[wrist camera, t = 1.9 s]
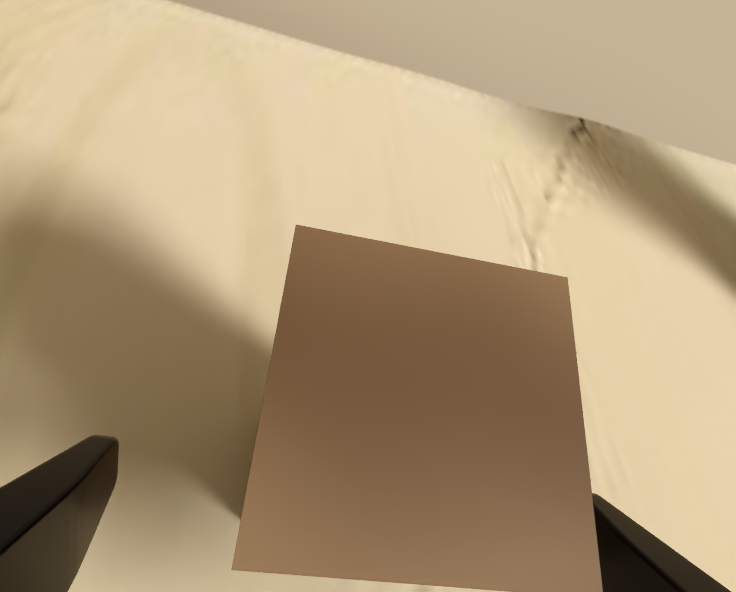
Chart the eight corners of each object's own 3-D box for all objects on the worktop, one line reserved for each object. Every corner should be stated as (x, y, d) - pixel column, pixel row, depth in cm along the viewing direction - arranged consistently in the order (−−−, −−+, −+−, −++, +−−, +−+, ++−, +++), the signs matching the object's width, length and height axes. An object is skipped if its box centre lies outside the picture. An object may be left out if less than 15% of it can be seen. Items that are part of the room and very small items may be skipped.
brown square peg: (362, 537, 17) (603, 598, 5) (249, 526, 16) (231, 569, 4) (372, 423, 18) (567, 276, 7) (270, 410, 18) (295, 224, 6)
